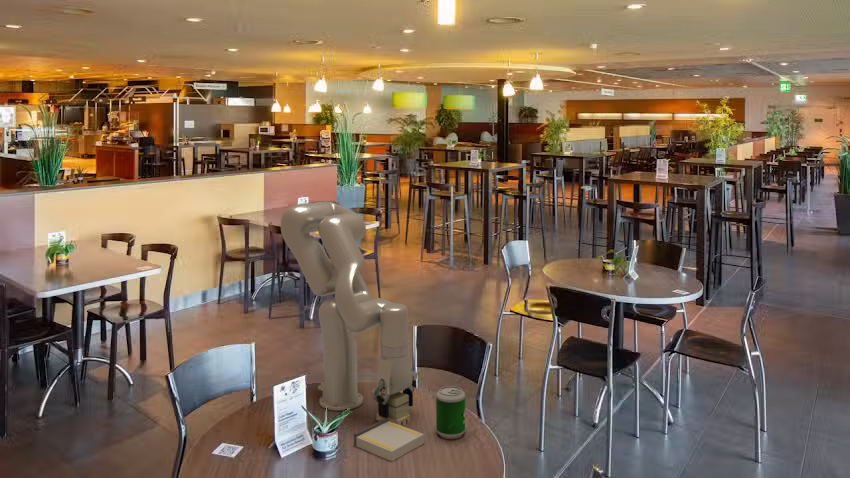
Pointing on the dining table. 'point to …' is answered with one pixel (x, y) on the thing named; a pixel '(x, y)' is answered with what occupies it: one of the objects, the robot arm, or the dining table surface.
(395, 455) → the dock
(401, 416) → the pallet
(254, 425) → the dining table surface
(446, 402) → the soda can
